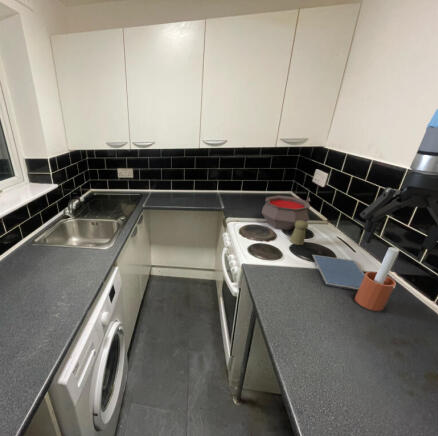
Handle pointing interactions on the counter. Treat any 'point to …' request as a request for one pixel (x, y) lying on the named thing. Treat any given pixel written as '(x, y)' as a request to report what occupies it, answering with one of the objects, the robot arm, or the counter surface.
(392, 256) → the stylus
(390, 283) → the pen pot
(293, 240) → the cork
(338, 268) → the tablet
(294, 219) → the cauldron
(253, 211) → the counter surface
